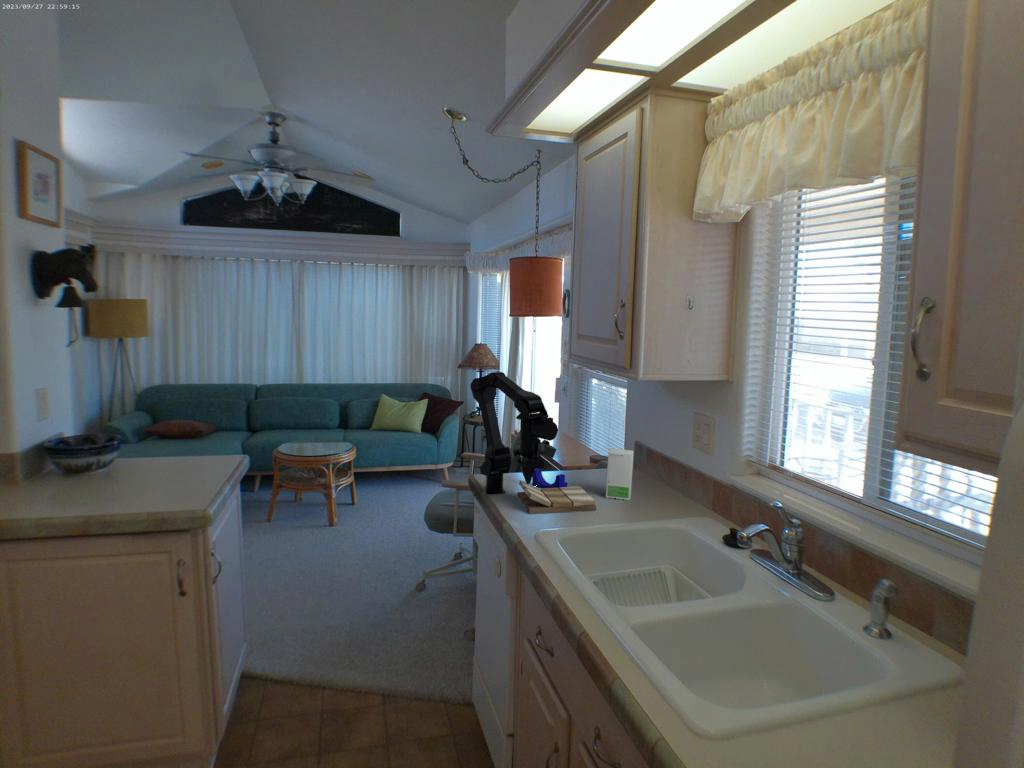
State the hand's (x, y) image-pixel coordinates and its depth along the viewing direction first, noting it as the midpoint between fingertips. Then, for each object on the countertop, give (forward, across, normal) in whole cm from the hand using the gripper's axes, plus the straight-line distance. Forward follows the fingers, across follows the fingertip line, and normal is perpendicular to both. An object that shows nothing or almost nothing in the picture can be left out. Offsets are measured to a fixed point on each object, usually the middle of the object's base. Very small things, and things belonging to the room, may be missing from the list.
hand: (528, 483), depth 190 cm
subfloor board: (+7, 0, -9) cm, 11 cm away
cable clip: (+7, +17, -12) cm, 22 cm away
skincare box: (+7, +4, -32) cm, 33 cm away
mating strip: (+5, 0, -9) cm, 10 cm away
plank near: (+4, 0, -2) cm, 4 cm away
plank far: (+5, 0, -16) cm, 17 cm away
